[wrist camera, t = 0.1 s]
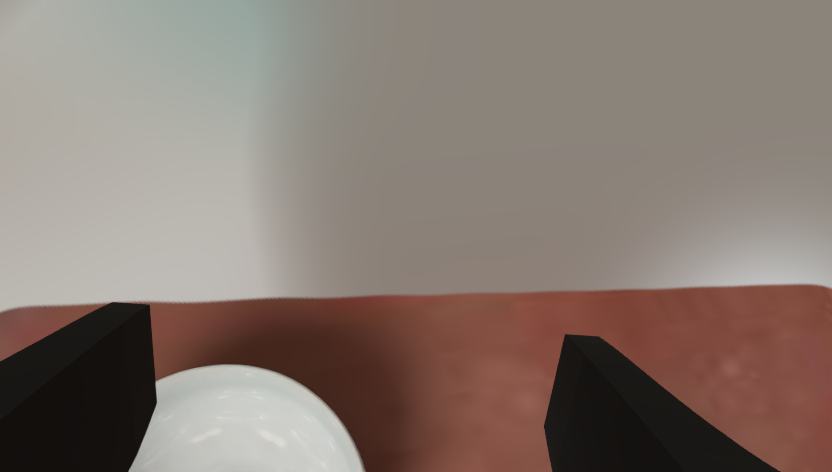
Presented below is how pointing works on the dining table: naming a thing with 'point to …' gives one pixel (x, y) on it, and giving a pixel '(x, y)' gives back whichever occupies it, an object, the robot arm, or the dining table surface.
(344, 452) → the cereal bowl
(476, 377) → the dining table surface
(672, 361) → the dining table surface
